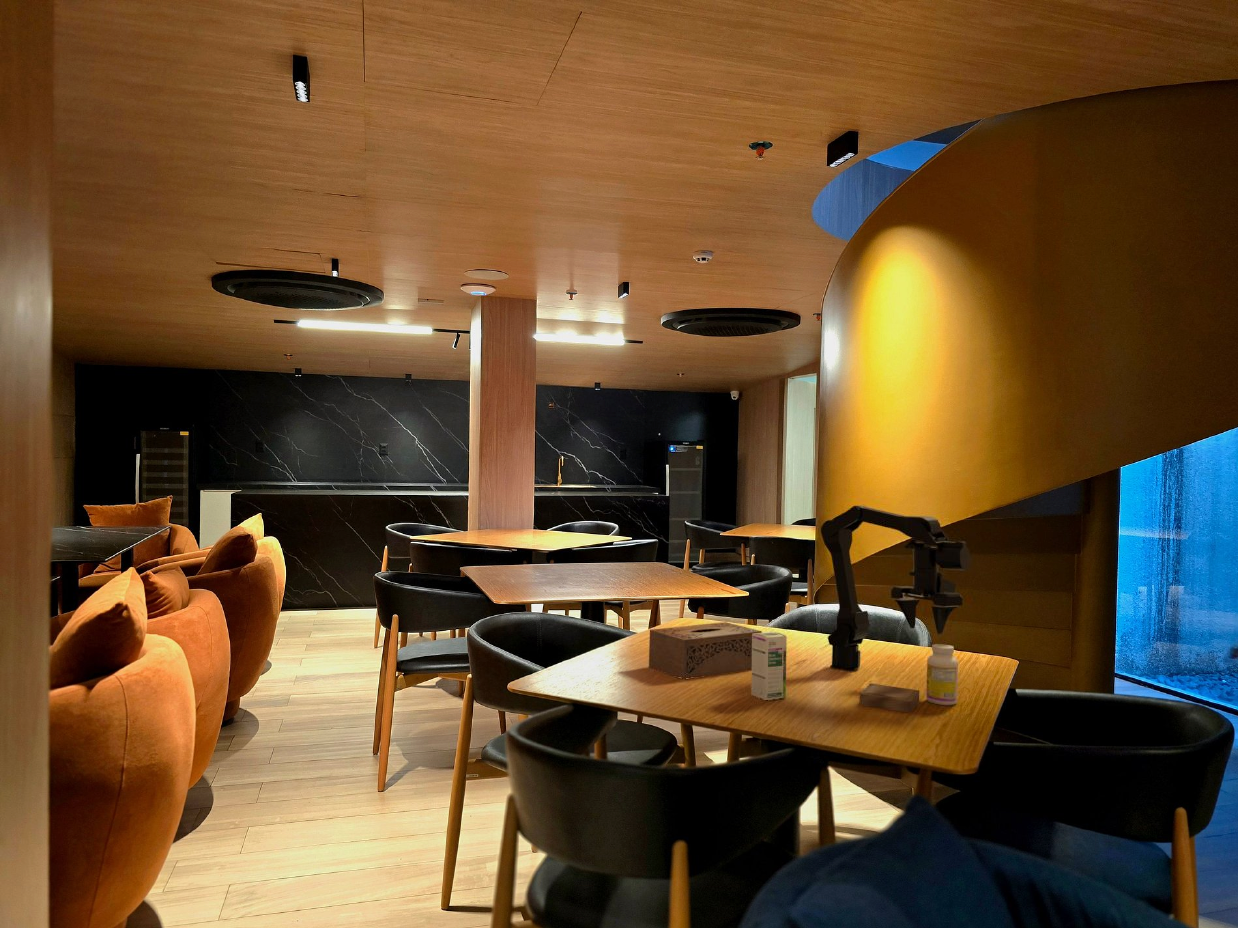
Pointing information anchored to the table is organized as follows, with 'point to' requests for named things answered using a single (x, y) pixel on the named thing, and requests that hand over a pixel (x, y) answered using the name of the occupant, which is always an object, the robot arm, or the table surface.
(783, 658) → the syrup box
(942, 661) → the supplement bottle
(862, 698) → the plinth
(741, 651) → the tissue box cover
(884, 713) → the table surface
